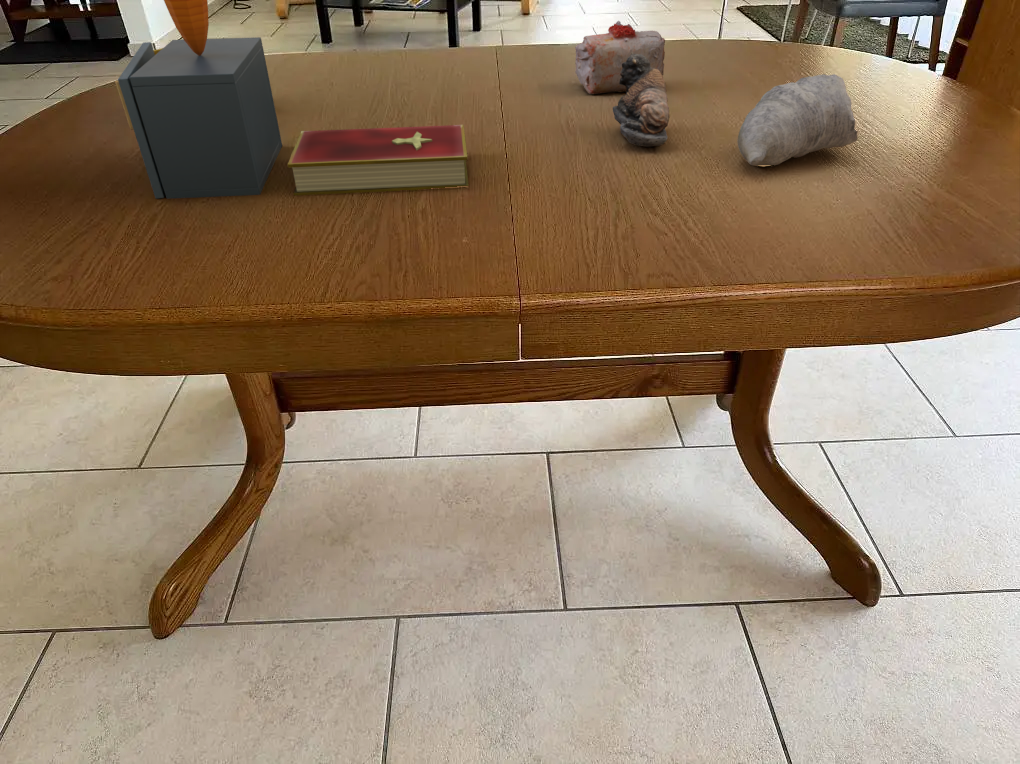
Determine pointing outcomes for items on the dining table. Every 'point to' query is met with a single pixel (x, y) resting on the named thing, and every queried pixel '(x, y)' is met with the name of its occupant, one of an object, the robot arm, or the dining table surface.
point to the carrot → (190, 21)
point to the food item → (615, 56)
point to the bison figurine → (642, 103)
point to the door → (134, 114)
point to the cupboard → (209, 117)
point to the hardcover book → (379, 159)
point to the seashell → (798, 121)
